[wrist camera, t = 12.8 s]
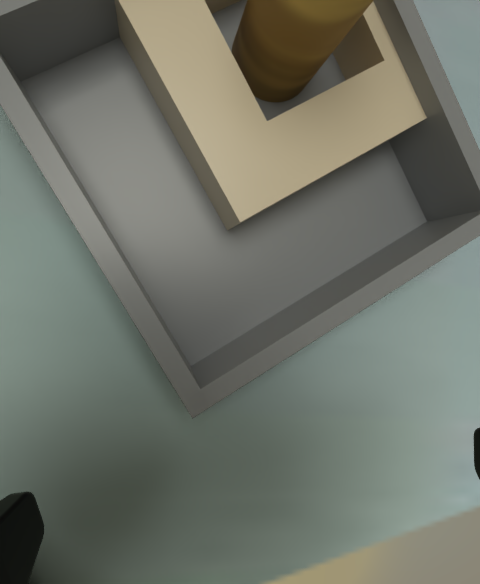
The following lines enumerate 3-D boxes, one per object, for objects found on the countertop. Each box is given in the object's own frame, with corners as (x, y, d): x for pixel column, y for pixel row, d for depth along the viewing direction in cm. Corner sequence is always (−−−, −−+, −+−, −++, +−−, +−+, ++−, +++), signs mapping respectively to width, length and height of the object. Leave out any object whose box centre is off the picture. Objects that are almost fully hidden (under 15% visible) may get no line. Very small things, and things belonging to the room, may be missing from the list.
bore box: (183, 383, 20) (192, 418, 15) (0, 82, 18) (-58, 10, 13) (432, 229, 23) (509, 216, 18) (299, -50, 20) (344, -153, 16)
